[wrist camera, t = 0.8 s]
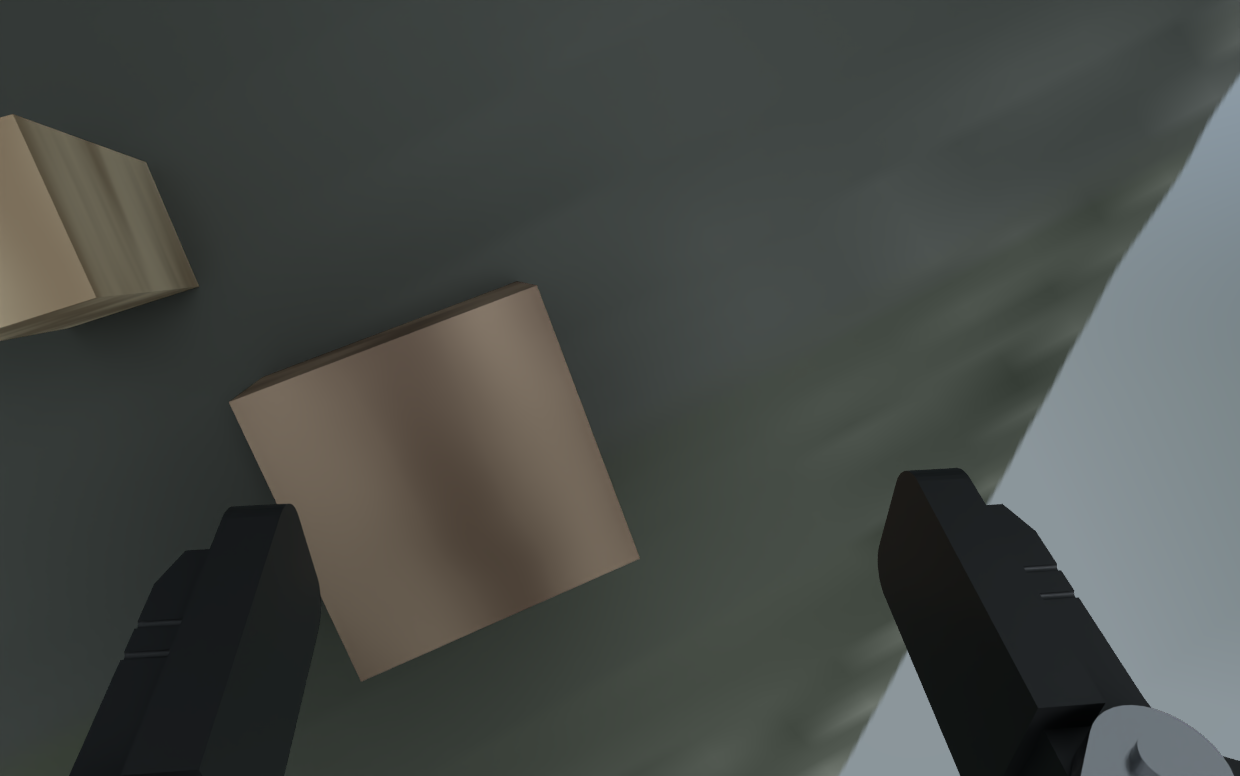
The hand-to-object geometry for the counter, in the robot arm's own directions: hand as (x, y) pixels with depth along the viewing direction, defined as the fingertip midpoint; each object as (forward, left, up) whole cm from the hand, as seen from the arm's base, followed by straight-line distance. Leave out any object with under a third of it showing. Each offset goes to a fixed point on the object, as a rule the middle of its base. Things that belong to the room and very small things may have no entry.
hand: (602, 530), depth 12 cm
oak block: (-11, -8, -22) cm, 26 cm away
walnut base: (+2, -4, -23) cm, 23 cm away
